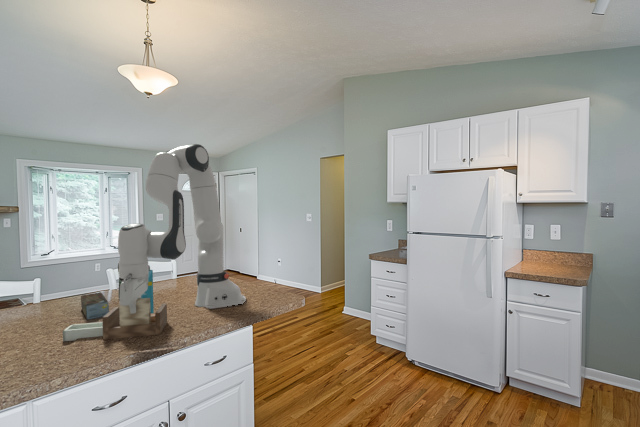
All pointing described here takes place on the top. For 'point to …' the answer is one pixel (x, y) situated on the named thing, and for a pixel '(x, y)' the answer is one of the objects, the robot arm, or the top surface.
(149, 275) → the tube
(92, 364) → the top surface
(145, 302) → the sheet
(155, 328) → the rack
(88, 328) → the tray
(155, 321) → the offcut short
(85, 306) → the beverage carton
